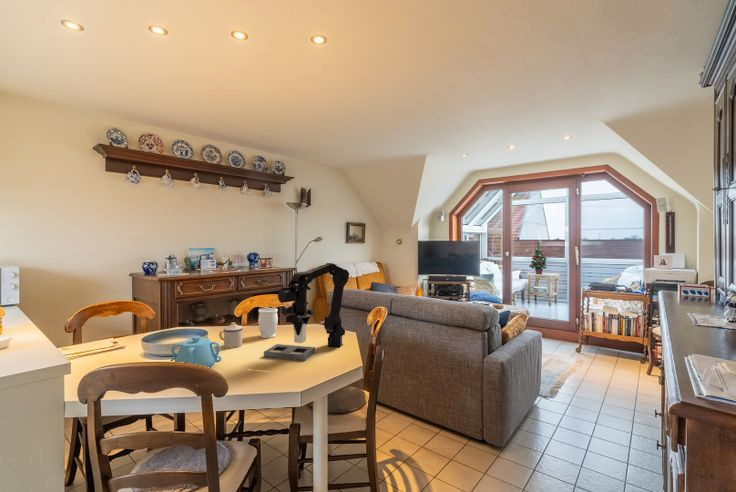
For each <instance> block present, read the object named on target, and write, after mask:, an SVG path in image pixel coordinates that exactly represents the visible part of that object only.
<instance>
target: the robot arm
mask: <svg viewBox="0 0 736 492" xmlns="http://www.w3.org/2000/svg"><path fill="white" fill-rule="evenodd" d="M326 274H329V275H331V276H332V280H331V281H332V282H333V291H332V292H333V293H332V298H331V305H330V310H329V311H330V312H329V314H328V315H327V316H324V322H323V326H324V329H325V331H326V334H328V337H327V348H339V349H340V348H342V346H344V343H343V336H345V334H346V330H345V329H344V328H343V327H342V318H341V315H340V314H341V308H342V301H343V294H344V288H345V286H346V284H348V281H349V278H350V272H349V271H348V269H344V268H342V267H340V266H338V265H337V264H335V263H333V262H326V263H325V264H322V265H320V266H318V267H314V268H312V269H310V270H307V271H299V272H298V271H297V272H294V274H293V276H292V278H291V279H290V282H289V283H288V284H287V286H282V287H280V290H278V291H279V292H278V294H277V299H278V301H279V303H281V304H284V303H291V302H292V303H291V305H290V306H287V305H285V306H282V307H281V309H280V313H281V314H282V315H283V317H285V316H286V317H285V323H289V324H292V325H293V328H294V327H295V330H296V334H297V335H300V332H301V329H302V326H303V323H305V324H306V326H307V325H308V323H309V320H310V319H311V316H313V315H314V314H315V313H314V310H313V308H308V307H307V306H308V304H309V301H307V299H308V291H310V290H311V287H310V286H309V284H311V283H312V282H313V280H315V279H317V278H319V277H321V276H324V275H326Z"/></svg>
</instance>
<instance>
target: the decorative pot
mask: <svg viewBox="0 0 736 492" xmlns="http://www.w3.org/2000/svg"><path fill="white" fill-rule="evenodd" d="M214 345H215V346H216V347H217V350H216V348H215V347H214ZM177 347H179V349H178V351H177V353H176V352H175V348H177ZM170 350H171V351H170V352H171V354H172V357H173V358H171V359H170V361H173V362H184V363H191V364H197V365H202V366H206V367H209V368H210V369H211V368H213V366H214V365H215V363H220V362H221V361H222V356H221V355H219V354H220V352H221V344H220V343H219V342H218V341H211V340H210V338H205V337H201V336H200V335H197V336H196V335H195V336H192V337H191V339H190V338H189V339H187V340H184V341H183V342H181V343H180V342H178V343H175V344H173V345H172V347H171V349H170ZM170 361H169V362H170Z"/></svg>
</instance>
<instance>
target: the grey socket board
mask: <svg viewBox="0 0 736 492" xmlns="http://www.w3.org/2000/svg"><path fill="white" fill-rule="evenodd" d="M315 353H316V347H315V346H302V345H294V344H293V345H291V344H282V343H281V344H279V343H277V344H275V345H272V346H271V347H270V348H268V349H266V350H264V351H263V358H266V359H267V358H268V359H275V360H276V359H279V360H288V361H289V360H290V361H299V362H306V361H308V359H310V358H311V357H312V356H313V355H314V354H315Z"/></svg>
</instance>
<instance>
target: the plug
mask: <svg viewBox="0 0 736 492" xmlns="http://www.w3.org/2000/svg"><path fill="white" fill-rule="evenodd" d="M293 331H294V332H293V336H294V337H293V343H297V344H303V343H305V342H306V340H307V325H306V324H305V323H303V326H302V329H301V332H300V335H297V334H296V330H295V327H294V326H293Z"/></svg>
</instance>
